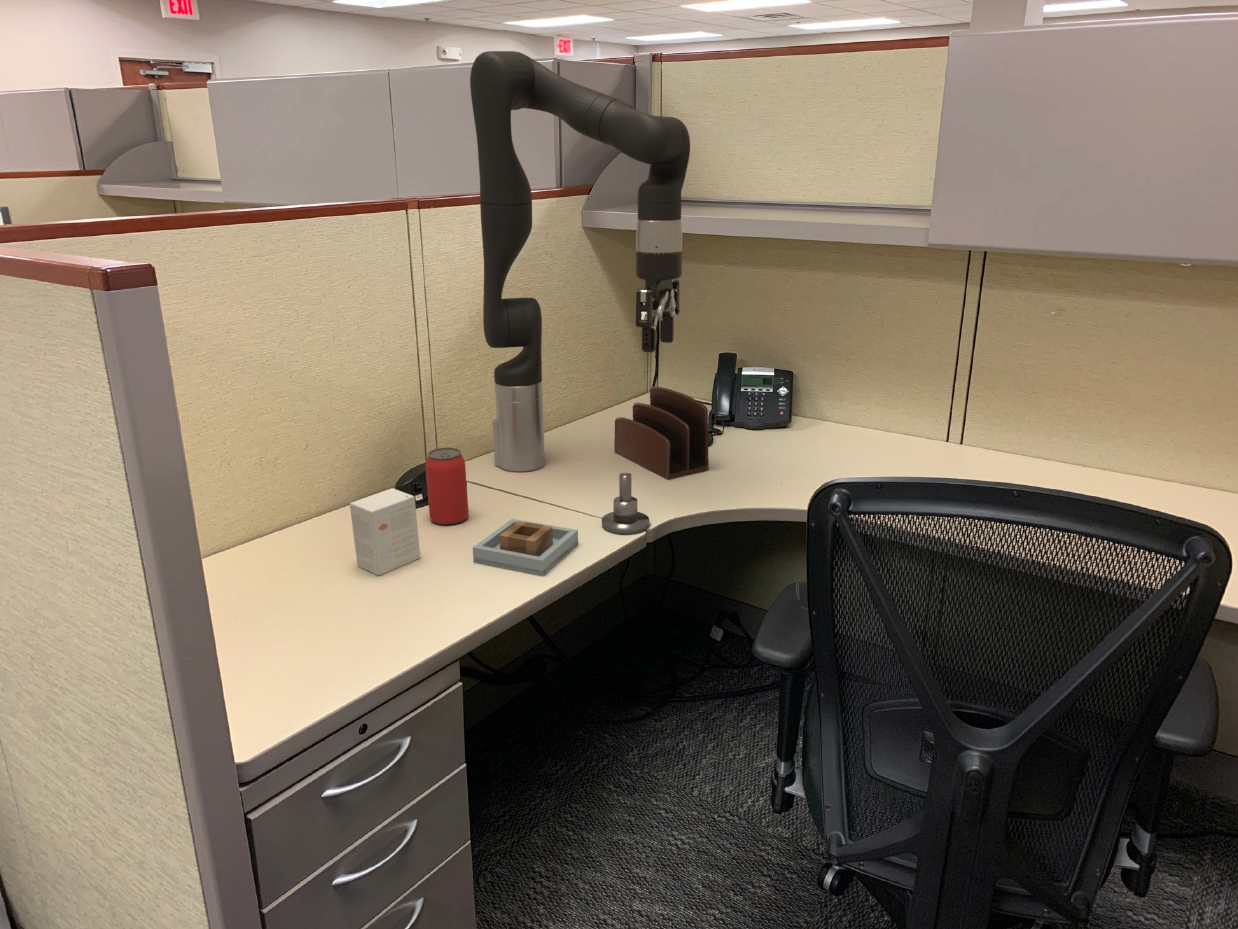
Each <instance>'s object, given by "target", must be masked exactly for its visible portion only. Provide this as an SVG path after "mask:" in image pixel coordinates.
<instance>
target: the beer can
mask: <svg viewBox="0 0 1238 929" xmlns="http://www.w3.org/2000/svg"><path fill="white" fill-rule="evenodd" d="M466 470H467V468H466V462H465V458H464V457H463V455H462V451H461V449H458V447H449V446H448V447H438V448H434V449H431V450H430V451H428V452H427V458H426V463H425V475H426V476H425V479H426V489H427V501H428V511H429V512H428V513H429V519H430V520H431V522H434V523H435V524H437V525H441V526H442V525H443V526H445V525H448V526H449V525H456V524H460V523H462V522H464V521H465V520H466V519H467V518H469V514H470V513H469V499H468V486H467V473H466V472H467V471H466Z"/></svg>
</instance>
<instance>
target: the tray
mask: <svg viewBox="0 0 1238 929" xmlns="http://www.w3.org/2000/svg"><path fill="white" fill-rule="evenodd" d="M518 521H522V522H528V523H534V524H539V525H545V526H551V527H552V533H553V544H552V545H551V546H550V547H549V548H548V549H547V550H545V551H544V552H543V553H542V554H541V555H540V556H533V555H527V554H522V553H517V552H512V551H506V550H501V549H500V536H499V535H501V534H502V533H503V532H505V531H506V530H507V529H509V528H510V527H511V526H513V525H514V524H515V523H517V522H518ZM577 546H579V530H578V529H575V528H567V527H563V526H562V527H561V526H557V525H556V526H555V525H551V524H545V523H541V522H540V523H539V522H534V521H528V520H523V519H522V520H521V519H517V518H510V520H508V521H507V522H505V523H504V524H503V525H501V526H500V527H499V528H497V529H495V531H493V532H492V533H490V534H489V535H488V536H486V537H485V538H483V539H482V540H481V541H479V542H478V543H477V544H475V545H474V546H472V557H473V558H472V560H473V563H476V564H481V565H485V566H486V565H487V566H491V567H496V568H501V569H506V570H510V571H516V572H521V573H527V574H531V575H536V576H541V577H543V576H545V575H546V574H547V573H548V572H549V571H550V570H551V569H553V568H554V567H555V566H556V565H557V564H558V563H559V562H560V561H561V560H563V559H564V558H565V557H566V556H567V555H568V554H569V553H570V552H571V551H573V549H575V548H576V547H577Z"/></svg>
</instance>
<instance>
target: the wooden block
mask: <svg viewBox="0 0 1238 929" xmlns="http://www.w3.org/2000/svg"><path fill="white" fill-rule="evenodd" d="M534 523H535V522H534ZM534 523H528V522H522V521H518V522H517V523H515V524H514V525H513V526H511V527H510V528H509V529H507V530H506V531H505V532H503V533H502V534H501V535H499V536H500V549H501V550H506V551H512V552H517V553H522V554H527V555H533V556H540V555H541V554H542V553H543V552H544V551H545V550H547V549H548V548H549V547H550V546H551V545H552V544H553V533H552V527H551V526H545V525H539V524H534Z"/></svg>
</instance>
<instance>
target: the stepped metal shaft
mask: <svg viewBox="0 0 1238 929" xmlns="http://www.w3.org/2000/svg"><path fill="white" fill-rule="evenodd" d="M618 475H619V477H618V478H619V479H618V480H619V483H618V486H619V496H616V497H615V498H614V499H613V511H611V512H608V513H606V514H605V515H603V516H602V517H601V528H602V529H603V530H604V531H606V532H608V533H610V534H614V535H622V536H629V535H631V536H632V535H637V534H641V533H643V532H645V531H647V530H648V529H649V528H650V517H649V516H648V515H647V514H645V513H643V512H640V511H638V502H639V501H638V499H637V497H634V496H632V474H631V473H630V472H621V473H619V474H618Z"/></svg>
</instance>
